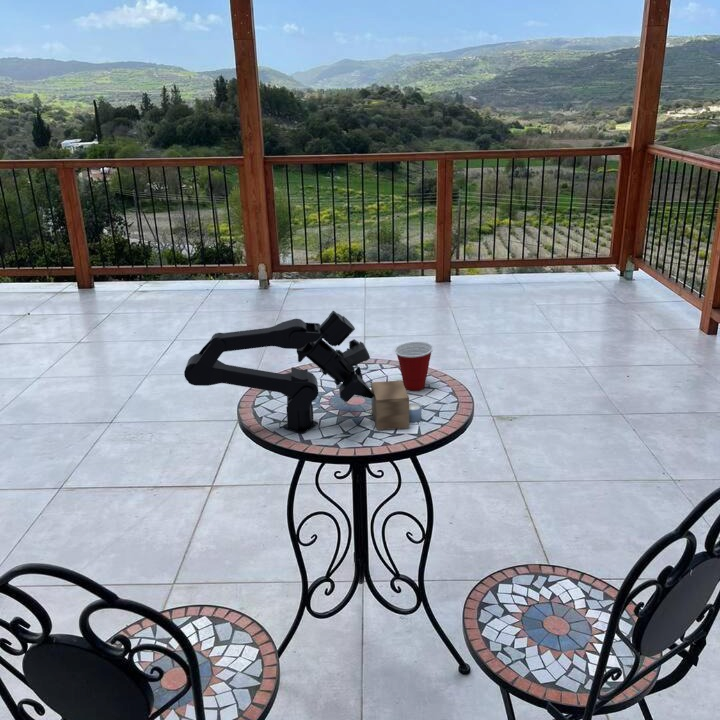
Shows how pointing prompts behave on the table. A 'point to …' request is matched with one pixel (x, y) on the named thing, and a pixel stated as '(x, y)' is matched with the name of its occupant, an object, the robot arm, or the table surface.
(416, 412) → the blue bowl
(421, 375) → the plastic cup
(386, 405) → the brown box
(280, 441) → the table surface
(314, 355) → the robot arm
